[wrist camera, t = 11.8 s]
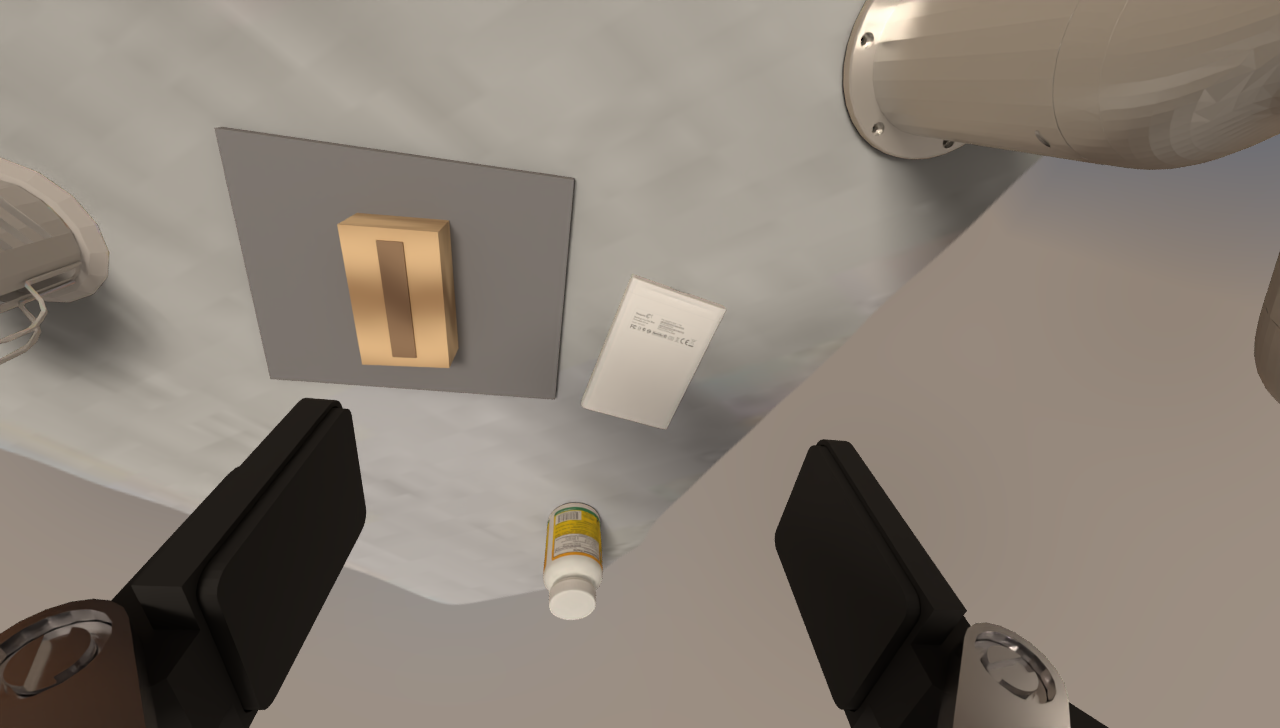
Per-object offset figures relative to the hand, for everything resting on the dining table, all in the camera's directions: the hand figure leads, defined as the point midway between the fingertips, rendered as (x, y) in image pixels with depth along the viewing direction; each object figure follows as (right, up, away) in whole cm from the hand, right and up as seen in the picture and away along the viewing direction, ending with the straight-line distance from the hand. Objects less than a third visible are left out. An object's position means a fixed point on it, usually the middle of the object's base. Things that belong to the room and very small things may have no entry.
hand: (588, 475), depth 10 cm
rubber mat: (-16, +8, +27) cm, 32 cm away
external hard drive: (+2, +3, +33) cm, 33 cm away
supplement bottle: (-6, -14, +41) cm, 43 cm away
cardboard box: (-16, +8, +26) cm, 32 cm away
